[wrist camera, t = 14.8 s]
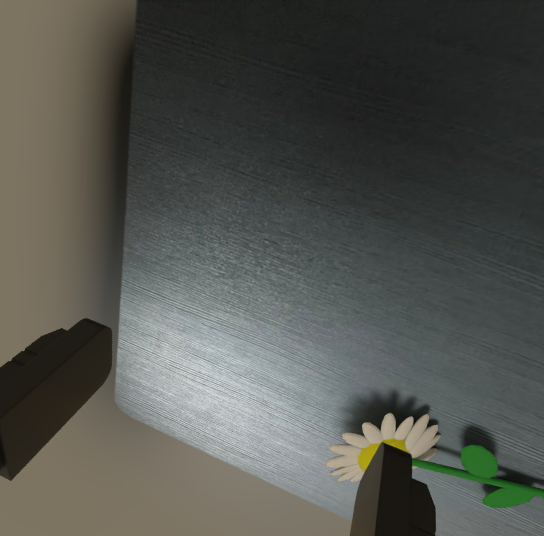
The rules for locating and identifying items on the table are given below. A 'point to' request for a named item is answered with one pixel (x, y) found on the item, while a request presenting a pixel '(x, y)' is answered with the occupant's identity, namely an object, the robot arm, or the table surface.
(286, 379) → the table surface
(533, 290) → the table surface
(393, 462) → the robot arm
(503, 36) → the table surface
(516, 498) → the decorative flower
